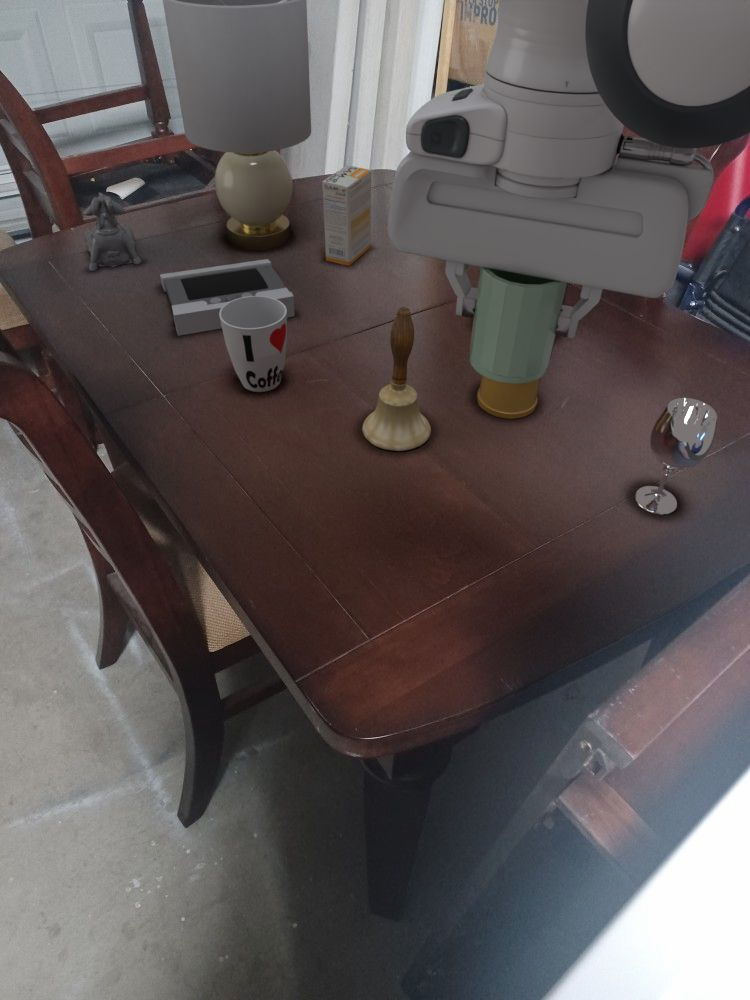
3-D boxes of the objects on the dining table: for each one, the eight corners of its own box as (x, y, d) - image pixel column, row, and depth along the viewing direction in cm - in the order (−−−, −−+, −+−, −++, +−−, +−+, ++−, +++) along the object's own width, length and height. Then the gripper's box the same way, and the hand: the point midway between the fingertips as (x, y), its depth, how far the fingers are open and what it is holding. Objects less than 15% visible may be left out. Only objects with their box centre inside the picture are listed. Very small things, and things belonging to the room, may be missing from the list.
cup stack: (541, 391, 91) (558, 315, 83) (529, 424, 85) (546, 346, 78) (485, 378, 92) (496, 302, 85) (469, 410, 87) (480, 333, 80)
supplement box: (347, 242, 122) (346, 163, 113) (371, 248, 120) (372, 168, 111) (324, 261, 117) (320, 180, 108) (349, 267, 115) (348, 185, 106)
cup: (242, 405, 87) (232, 335, 80) (221, 372, 92) (210, 304, 86) (301, 388, 90) (296, 319, 83) (278, 358, 95) (272, 290, 88)
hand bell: (383, 401, 88) (387, 284, 77) (442, 422, 85) (454, 304, 74) (349, 437, 83) (347, 316, 72) (410, 460, 80) (418, 339, 69)
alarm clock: (173, 315, 96) (156, 256, 106) (179, 343, 100) (161, 283, 110) (293, 296, 101) (265, 241, 111) (294, 323, 104) (267, 268, 114)
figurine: (135, 240, 122) (121, 175, 114) (142, 264, 115) (127, 197, 107) (85, 246, 119) (67, 181, 112) (89, 271, 113) (71, 203, 105)
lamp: (177, 244, 120) (130, -6, 96) (251, 206, 133) (226, -23, 108) (269, 274, 113) (244, 12, 88) (338, 231, 125) (333, -9, 101)
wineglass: (625, 510, 75) (658, 421, 67) (632, 477, 79) (664, 389, 70) (681, 525, 73) (722, 436, 65) (685, 490, 77) (724, 402, 69)
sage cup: (554, 349, 57) (576, 255, 51) (540, 391, 53) (561, 294, 47) (480, 334, 59) (493, 241, 53) (459, 373, 54) (471, 277, 49)
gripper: (725, 133, 43) (657, 330, 53) (413, 94, 48) (404, 281, 58) (723, 166, 39) (651, 374, 49) (382, 120, 44) (377, 316, 54)
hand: (514, 323), depth 53 cm, fingers closed on sage cup, 6 cm apart
